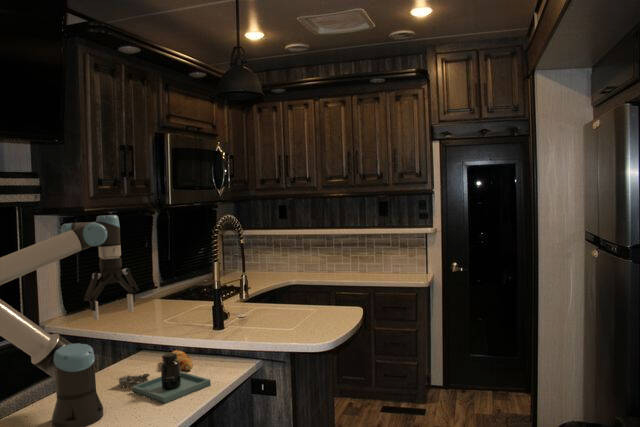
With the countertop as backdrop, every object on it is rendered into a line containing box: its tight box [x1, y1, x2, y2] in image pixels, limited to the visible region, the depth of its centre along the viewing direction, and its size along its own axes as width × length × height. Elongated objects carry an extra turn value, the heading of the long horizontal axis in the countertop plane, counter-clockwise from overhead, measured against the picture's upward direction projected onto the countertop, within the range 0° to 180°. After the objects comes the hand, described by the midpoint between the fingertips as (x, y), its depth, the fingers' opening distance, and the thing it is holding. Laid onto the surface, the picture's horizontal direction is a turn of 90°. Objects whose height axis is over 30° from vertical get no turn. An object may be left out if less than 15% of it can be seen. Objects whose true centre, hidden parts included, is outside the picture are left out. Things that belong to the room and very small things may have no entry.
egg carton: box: [117, 373, 150, 389], centre depth 197 cm, size 11×8×4 cm
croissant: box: [161, 350, 194, 371], centre depth 217 cm, size 21×10×8 cm, turn 49°
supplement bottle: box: [160, 352, 181, 390], centre depth 190 cm, size 7×7×12 cm
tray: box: [131, 370, 212, 405], centre depth 190 cm, size 20×20×2 cm
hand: (114, 315), depth 188 cm, fingers open, 13 cm apart
